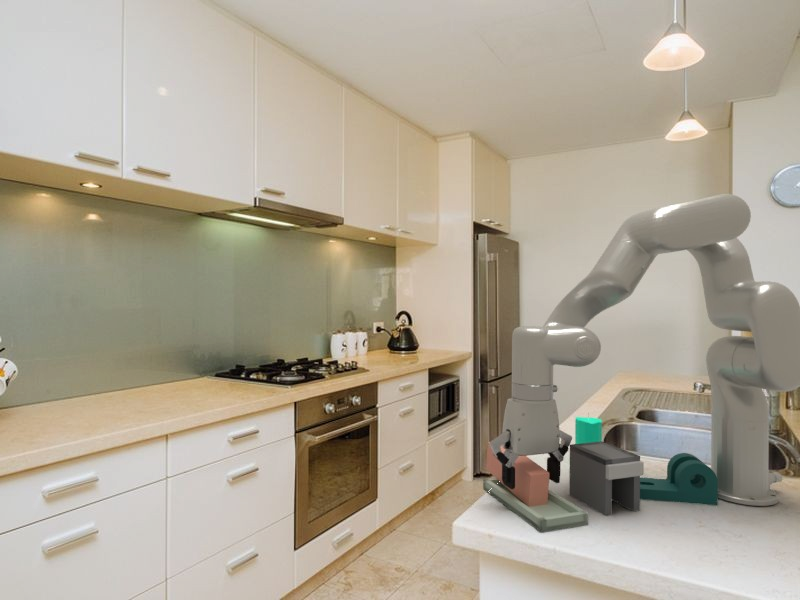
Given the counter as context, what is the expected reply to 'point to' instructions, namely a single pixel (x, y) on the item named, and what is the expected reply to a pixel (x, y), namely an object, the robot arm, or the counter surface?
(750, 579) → the counter surface
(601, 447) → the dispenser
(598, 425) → the candle
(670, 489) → the bracket
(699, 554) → the counter surface
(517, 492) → the terracotta pink bar
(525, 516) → the tray
